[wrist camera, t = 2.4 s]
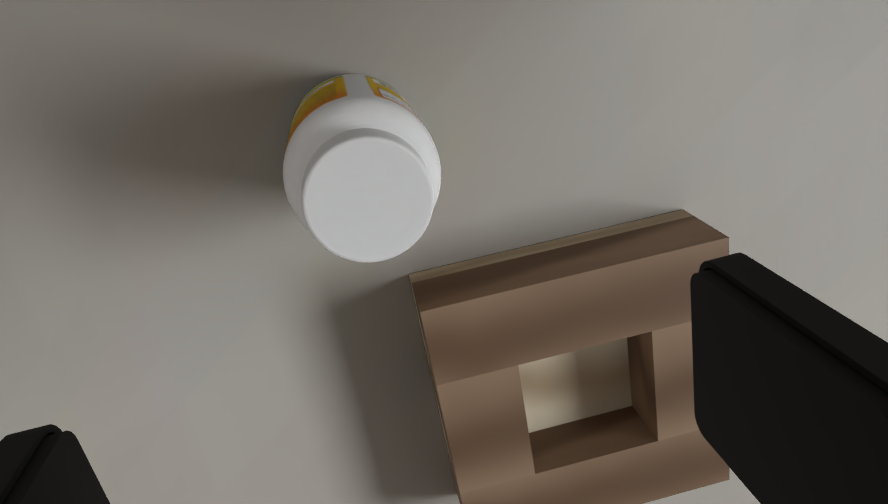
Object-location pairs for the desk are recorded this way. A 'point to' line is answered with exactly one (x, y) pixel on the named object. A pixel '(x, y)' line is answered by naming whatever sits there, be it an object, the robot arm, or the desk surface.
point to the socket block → (572, 366)
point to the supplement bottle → (361, 169)
